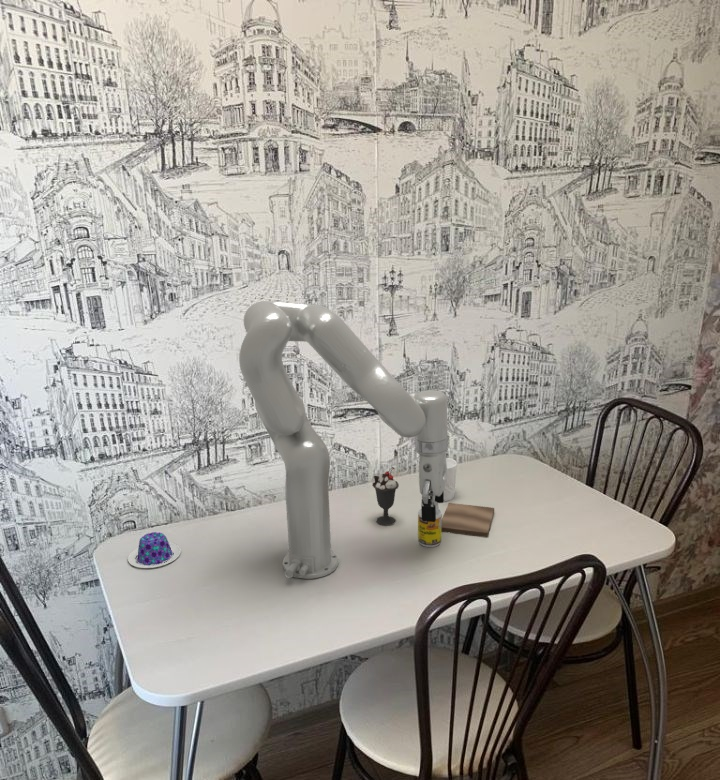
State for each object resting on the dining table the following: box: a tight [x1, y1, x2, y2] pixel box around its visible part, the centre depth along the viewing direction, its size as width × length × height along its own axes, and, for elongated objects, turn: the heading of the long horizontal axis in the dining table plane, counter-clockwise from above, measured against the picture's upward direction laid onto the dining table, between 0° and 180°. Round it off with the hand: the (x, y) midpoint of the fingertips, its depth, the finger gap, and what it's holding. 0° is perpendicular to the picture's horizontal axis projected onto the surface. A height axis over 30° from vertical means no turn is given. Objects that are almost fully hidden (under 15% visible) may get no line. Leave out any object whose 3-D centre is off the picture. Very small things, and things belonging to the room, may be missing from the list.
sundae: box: [372, 466, 399, 526], centre depth 173 cm, size 7×7×15 cm
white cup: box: [429, 457, 458, 502], centre depth 187 cm, size 8×8×10 cm
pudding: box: [127, 531, 182, 569], centre depth 160 cm, size 12×12×5 cm
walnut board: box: [441, 502, 495, 538], centre depth 173 cm, size 14×12×1 cm
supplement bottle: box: [417, 501, 443, 548], centre depth 162 cm, size 6×6×10 cm
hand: (433, 511), depth 162 cm, fingers open, 9 cm apart
